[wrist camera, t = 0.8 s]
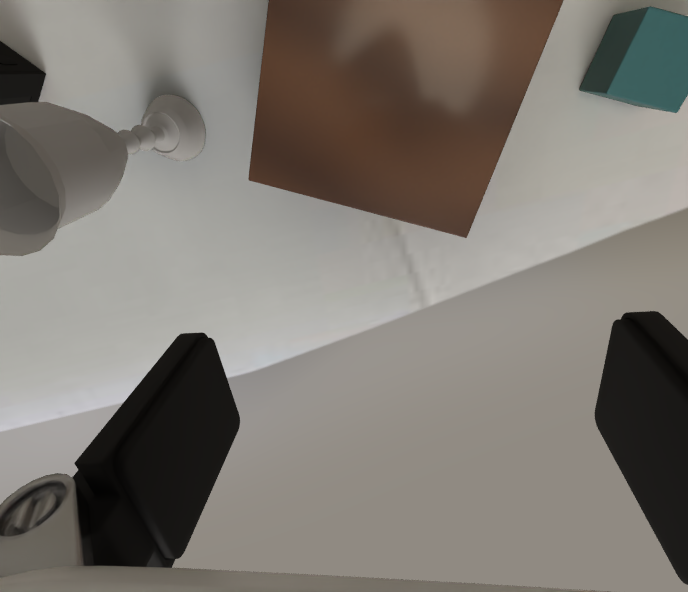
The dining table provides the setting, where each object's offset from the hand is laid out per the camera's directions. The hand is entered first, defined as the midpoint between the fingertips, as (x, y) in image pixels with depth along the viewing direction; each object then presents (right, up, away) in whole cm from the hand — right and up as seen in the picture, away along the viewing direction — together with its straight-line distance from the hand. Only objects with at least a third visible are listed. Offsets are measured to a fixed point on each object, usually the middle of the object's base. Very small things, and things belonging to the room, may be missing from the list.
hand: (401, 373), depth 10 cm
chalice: (-15, +15, +24) cm, 32 cm away
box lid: (+2, +15, +14) cm, 21 cm away
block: (+18, +17, +18) cm, 31 cm away
